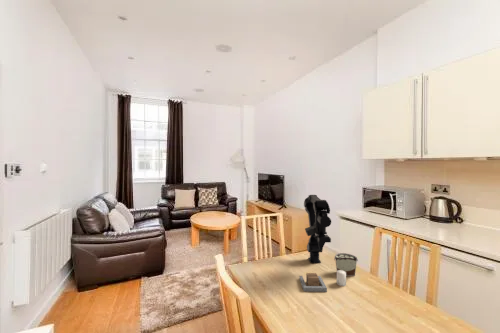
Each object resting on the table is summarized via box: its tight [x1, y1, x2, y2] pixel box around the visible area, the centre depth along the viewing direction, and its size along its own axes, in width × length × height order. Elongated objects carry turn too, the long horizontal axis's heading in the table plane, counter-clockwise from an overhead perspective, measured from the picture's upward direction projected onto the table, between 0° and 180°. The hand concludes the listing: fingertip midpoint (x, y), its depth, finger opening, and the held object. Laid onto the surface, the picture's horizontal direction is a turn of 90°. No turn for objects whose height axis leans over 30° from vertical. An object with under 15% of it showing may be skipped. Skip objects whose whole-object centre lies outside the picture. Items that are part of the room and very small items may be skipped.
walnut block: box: [305, 272, 320, 286], centre depth 115 cm, size 5×5×5 cm
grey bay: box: [298, 275, 328, 293], centre depth 114 cm, size 12×11×2 cm
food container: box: [333, 252, 359, 277], centre depth 127 cm, size 12×6×10 cm, turn 84°
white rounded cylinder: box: [336, 270, 347, 287], centre depth 116 cm, size 4×4×6 cm
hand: (320, 249), depth 129 cm, fingers closed
